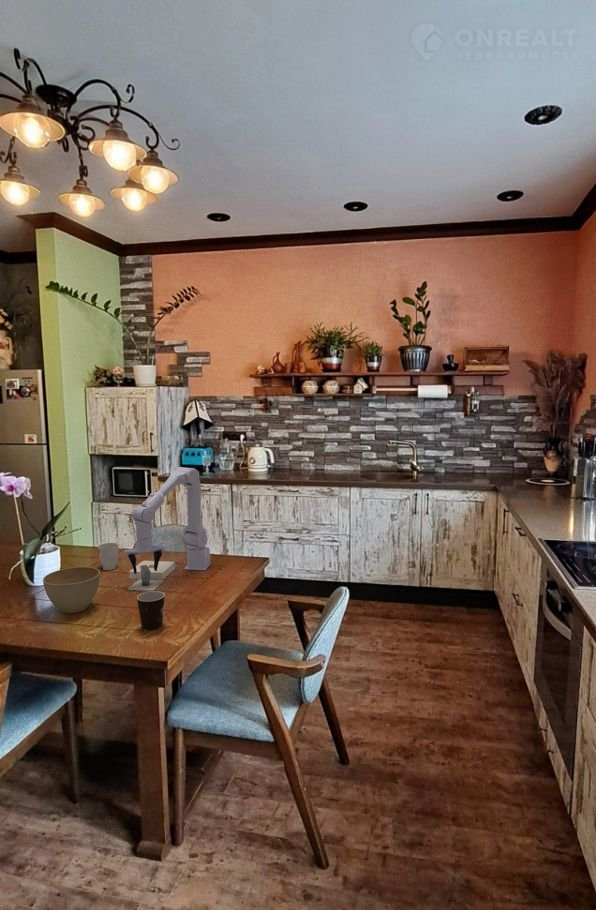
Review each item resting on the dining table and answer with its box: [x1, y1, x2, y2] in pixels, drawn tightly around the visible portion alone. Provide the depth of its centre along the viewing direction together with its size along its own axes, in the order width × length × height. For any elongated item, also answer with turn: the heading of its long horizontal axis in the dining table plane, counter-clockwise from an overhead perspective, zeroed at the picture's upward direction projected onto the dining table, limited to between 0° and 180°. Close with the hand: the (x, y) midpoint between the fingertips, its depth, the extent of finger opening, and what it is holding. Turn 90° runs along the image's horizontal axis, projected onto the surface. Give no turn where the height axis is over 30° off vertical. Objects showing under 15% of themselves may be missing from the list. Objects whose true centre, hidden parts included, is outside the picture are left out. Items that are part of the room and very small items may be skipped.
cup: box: [97, 542, 119, 571], centre depth 228 cm, size 8×8×10 cm
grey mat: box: [127, 579, 164, 592], centre depth 208 cm, size 10×10×1 cm
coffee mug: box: [136, 590, 166, 631], centre depth 171 cm, size 12×9×10 cm
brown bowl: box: [42, 566, 101, 614], centre depth 186 cm, size 18×18×12 cm
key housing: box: [128, 560, 176, 581], centre depth 222 cm, size 14×14×3 cm
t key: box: [140, 565, 151, 586], centre depth 208 cm, size 8×3×6 cm, turn 26°
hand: (145, 571), depth 208 cm, fingers open, 7 cm apart
